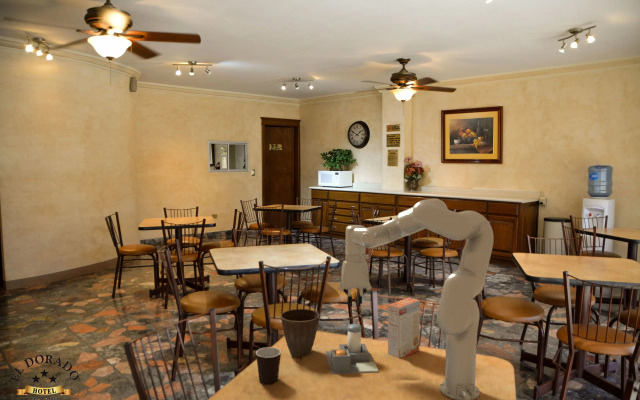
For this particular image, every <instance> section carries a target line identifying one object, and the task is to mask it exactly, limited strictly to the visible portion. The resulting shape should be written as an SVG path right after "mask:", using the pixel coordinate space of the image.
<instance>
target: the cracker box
mask: <svg viewBox="0 0 640 400" xmlns="http://www.w3.org/2000/svg"><path fill="white" fill-rule="evenodd" d="M387 307H388V308H387V355H389V356H392V357H394V358H397V359H400V358H403V357H408V356H410V355H412V354H414V353H416V352H418V351H420V328H421V327H420V322H421V321H420V317H421V315H420V314H421V309H420V308H421V301H420V299H416V298H412V297H406V298H403V299H401V300H398V301H395V302H393V303H389V304H387Z"/></svg>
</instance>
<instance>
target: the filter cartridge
mask: <svg viewBox="0 0 640 400" xmlns="http://www.w3.org/2000/svg"><path fill="white" fill-rule="evenodd" d="M361 341H362V325H361V324H358V323H351V324H348V325H347V344H348V351H349V353H361V344H362V343H361Z"/></svg>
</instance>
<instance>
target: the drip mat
mask: <svg viewBox="0 0 640 400" xmlns="http://www.w3.org/2000/svg"><path fill="white" fill-rule="evenodd" d="M356 366H357V369H358V371H359V373H358V374H362V373H361V372H379V369H378V367H377V365H376V363H375V361H373V362H364V363H356Z"/></svg>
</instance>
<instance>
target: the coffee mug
mask: <svg viewBox="0 0 640 400" xmlns="http://www.w3.org/2000/svg"><path fill="white" fill-rule="evenodd" d="M281 356H282V350H281V349H279V348H277V347H271V346H268V347H262V348H258V349H257V350H256V351H255V357H256V364H257V365H256V366H257V371H258V380H259V383H260V384H261V385H267V386H268V385H274V384H276V383H277V382H278V380H279V372H280V366H281V358H282V357H281Z"/></svg>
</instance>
